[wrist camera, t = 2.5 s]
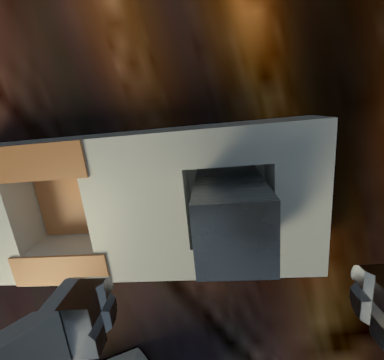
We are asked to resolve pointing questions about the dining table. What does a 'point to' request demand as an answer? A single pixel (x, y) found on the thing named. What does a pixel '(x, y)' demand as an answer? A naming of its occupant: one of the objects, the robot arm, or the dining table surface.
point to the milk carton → (130, 355)
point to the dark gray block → (234, 225)
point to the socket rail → (155, 198)
